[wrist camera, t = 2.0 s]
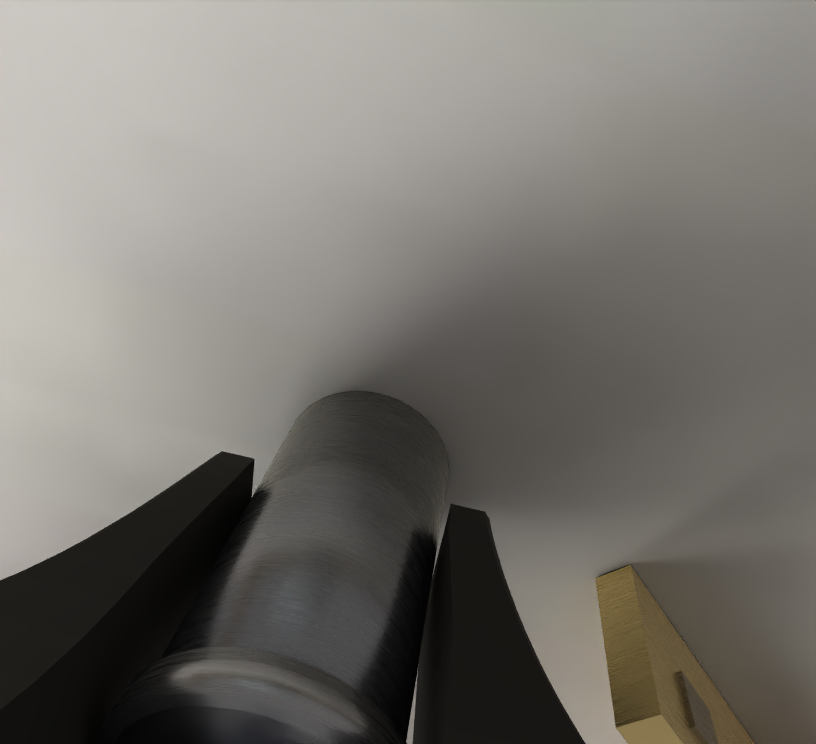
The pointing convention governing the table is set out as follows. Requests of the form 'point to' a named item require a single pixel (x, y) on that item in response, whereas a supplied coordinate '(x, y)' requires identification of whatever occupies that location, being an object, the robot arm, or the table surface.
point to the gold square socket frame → (657, 672)
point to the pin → (308, 594)
